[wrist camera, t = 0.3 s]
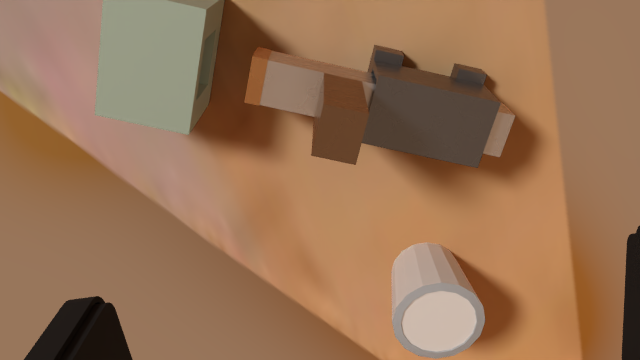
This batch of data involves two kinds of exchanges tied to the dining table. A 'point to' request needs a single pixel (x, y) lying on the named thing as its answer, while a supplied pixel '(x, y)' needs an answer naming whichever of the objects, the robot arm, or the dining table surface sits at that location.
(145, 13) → the socket block
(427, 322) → the shot glass
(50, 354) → the robot arm
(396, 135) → the sleeve
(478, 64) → the dining table surface
